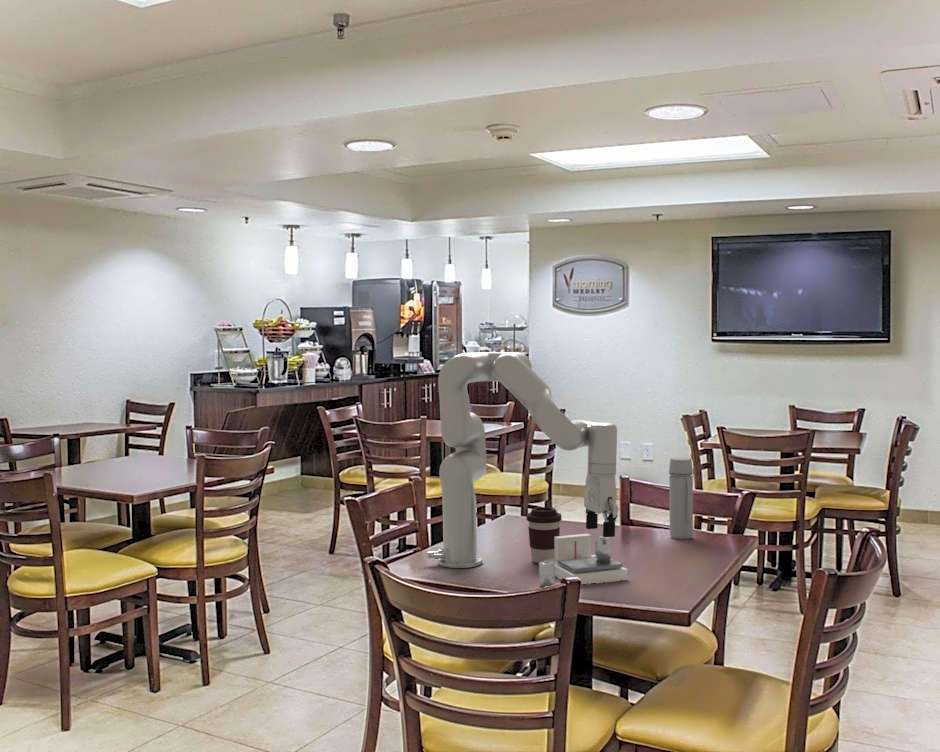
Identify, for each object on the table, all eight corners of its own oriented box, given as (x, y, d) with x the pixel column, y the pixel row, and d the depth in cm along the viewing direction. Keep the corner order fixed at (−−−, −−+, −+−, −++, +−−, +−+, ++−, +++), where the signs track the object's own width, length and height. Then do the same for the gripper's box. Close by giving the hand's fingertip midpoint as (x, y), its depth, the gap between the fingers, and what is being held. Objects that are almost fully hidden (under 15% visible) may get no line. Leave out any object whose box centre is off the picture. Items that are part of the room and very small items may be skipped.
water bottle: (664, 536, 290) (663, 457, 289) (686, 534, 292) (685, 456, 291) (679, 542, 281) (678, 461, 280) (701, 540, 283) (701, 460, 282)
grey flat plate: (574, 572, 235) (574, 568, 235) (557, 563, 244) (557, 560, 244) (622, 567, 239) (622, 563, 239) (604, 558, 249) (604, 555, 249)
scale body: (572, 586, 233) (572, 551, 233) (544, 570, 250) (544, 537, 250) (627, 579, 239) (627, 545, 238) (596, 564, 255) (596, 532, 255)
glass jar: (600, 563, 240) (599, 540, 240) (592, 559, 244) (592, 537, 244) (613, 561, 242) (613, 538, 241) (606, 557, 245) (605, 535, 245)
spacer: (543, 589, 231) (542, 565, 231) (536, 585, 235) (536, 561, 235) (557, 587, 233) (557, 564, 232) (550, 583, 236) (550, 560, 236)
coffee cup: (533, 566, 254) (533, 513, 253) (522, 558, 263) (521, 507, 263) (567, 563, 256) (566, 511, 256) (554, 555, 266) (554, 504, 265)
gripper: (574, 464, 249) (573, 526, 250) (604, 474, 233) (602, 541, 234) (599, 463, 251) (597, 524, 252) (630, 473, 235) (628, 539, 236)
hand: (600, 532), depth 243 cm, fingers open, 9 cm apart
